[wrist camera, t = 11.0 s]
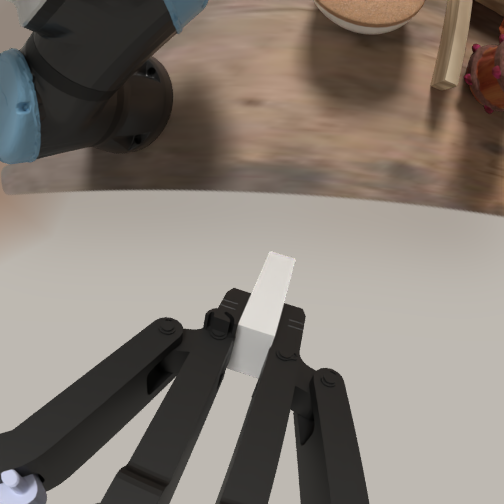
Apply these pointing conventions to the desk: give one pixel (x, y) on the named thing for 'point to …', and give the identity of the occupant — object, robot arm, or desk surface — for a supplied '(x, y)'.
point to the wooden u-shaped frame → (456, 41)
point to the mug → (487, 74)
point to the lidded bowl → (369, 14)
